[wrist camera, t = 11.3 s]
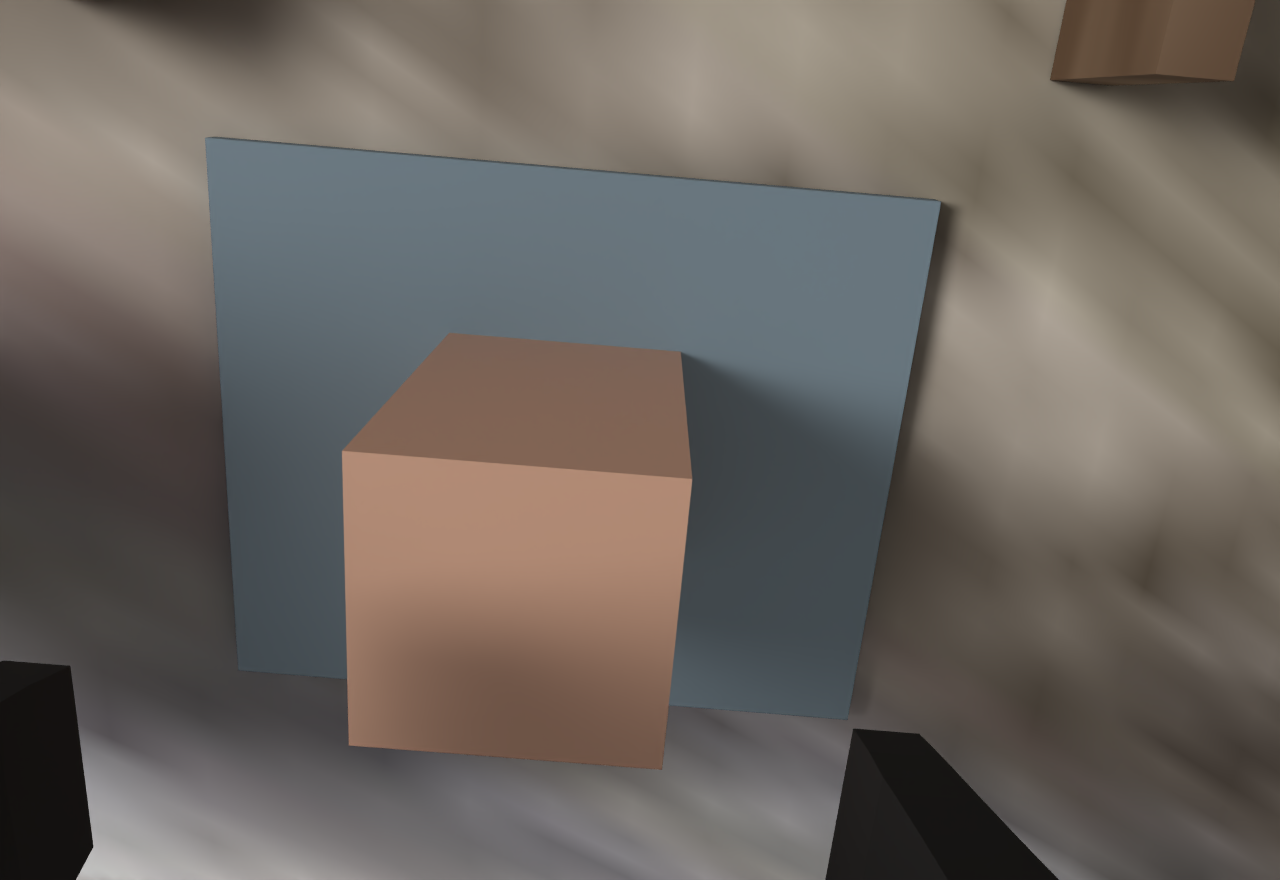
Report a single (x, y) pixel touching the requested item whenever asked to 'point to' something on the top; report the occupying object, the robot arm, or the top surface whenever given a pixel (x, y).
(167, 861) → the top surface
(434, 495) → the terracotta block
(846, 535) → the slate mat
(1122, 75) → the walnut crate
